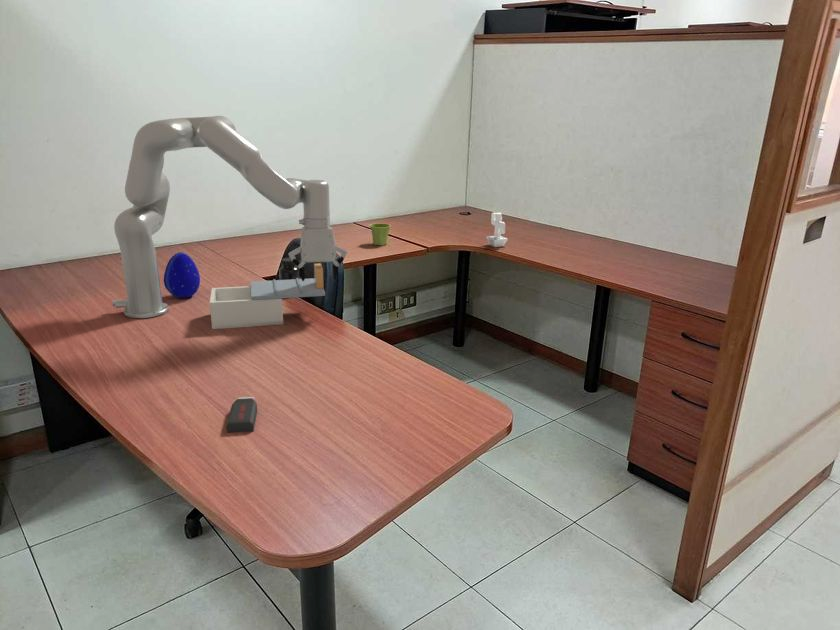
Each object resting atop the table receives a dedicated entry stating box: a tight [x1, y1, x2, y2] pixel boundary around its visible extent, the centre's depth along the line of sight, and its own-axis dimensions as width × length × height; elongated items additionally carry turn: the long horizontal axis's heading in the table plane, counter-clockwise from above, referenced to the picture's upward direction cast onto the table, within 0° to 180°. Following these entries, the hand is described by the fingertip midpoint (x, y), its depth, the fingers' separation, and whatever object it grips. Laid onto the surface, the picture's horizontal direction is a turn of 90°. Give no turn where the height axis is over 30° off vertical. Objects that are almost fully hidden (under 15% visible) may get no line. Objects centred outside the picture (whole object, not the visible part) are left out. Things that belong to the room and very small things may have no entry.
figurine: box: [486, 212, 509, 248], centre depth 280 cm, size 7×9×15 cm
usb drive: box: [226, 396, 258, 434], centre depth 130 cm, size 5×12×3 cm, turn 9°
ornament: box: [163, 251, 201, 299], centre depth 201 cm, size 11×9×15 cm
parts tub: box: [209, 285, 284, 330], centre depth 185 cm, size 20×14×8 cm
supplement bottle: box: [278, 257, 301, 280], centre depth 207 cm, size 7×7×12 cm
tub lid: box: [250, 262, 326, 300], centre depth 185 cm, size 21×15×7 cm
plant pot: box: [369, 222, 391, 247], centre depth 278 cm, size 9×9×9 cm
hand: (318, 278), depth 188 cm, fingers open, 9 cm apart
